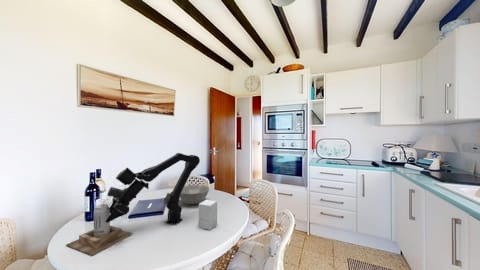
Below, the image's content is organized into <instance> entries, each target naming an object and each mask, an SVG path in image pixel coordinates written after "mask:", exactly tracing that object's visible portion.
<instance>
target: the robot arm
mask: <svg viewBox="0 0 480 270" xmlns="http://www.w3.org/2000/svg"><path fill="white" fill-rule="evenodd" d="M180 161H183V162H185V163H184V168H183V171H182V172H181V174H180V176H179V178H178V180H177V182H176V183H175V186H174V188H173V190H172V191H171V192H167V193H166V195H165V197H164V201H163V204H164V206H165V208H166V209H167V211H168V212H167V220H166V221H165V223H167V224H171V225H177V224H179V223H181V222H183V218H182V213H181V212H182V210H183V207H182V206H181V205H179V203H180V200H181V198H180V194H181V192H182V190H183V188H184V186H186V184H187V182H188V180H189V178H190V176H191V174H192V172H193V171H194V170H195V169H196V168H197V167H198V166H199V164H200V161H201V160H200V157H199V156H197V155H196V154H189V155H188V154H183V153H180V152H177V153H175V154H174V155H173V156H172V155H171V157H169V158H167V159H165V160H164V161H162V162H160V163H158V164H157V165H154V166H150V167H148V168H145V169H143V170H142V171H140V172H136V173H135V172H134V171H132V170H131V169H130V168H129V167H126V168H125V169H123V170H122V171H120V172H119V173H118V174H117V175H116V177H115V180H117V181H119V182H120V183H121V184H123V185H124V186H128V187H125V188H124V189H122V188H121V189H120V188H117V187H114V186H110V187H109V189H108V191H107V196H108V197H112V202H111V204H110V206H109V208H110V215H109V217H108V218H107V220H106V221H105V222H106V223H108V222H110V223H111V221H114V220H116V219H117V218H120V217H122V216H125V215H126V216H127V214H129V212H130V207H129V206H130V205H131V204H130V203H131V202H132V201H133V200H134V199H136V198H137V195H139V193H140V192H141V191H142V190H143V189H144V188H146V189H147V190H149V185H150V182H152V181H153V180H155V179H156V178H157V177H158V176H159V175H160V174H161V173H162V172H163V171H165V170H167V169H169V168H171V167H172V166H173V165H175V164H177V163H179V162H180Z"/></svg>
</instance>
